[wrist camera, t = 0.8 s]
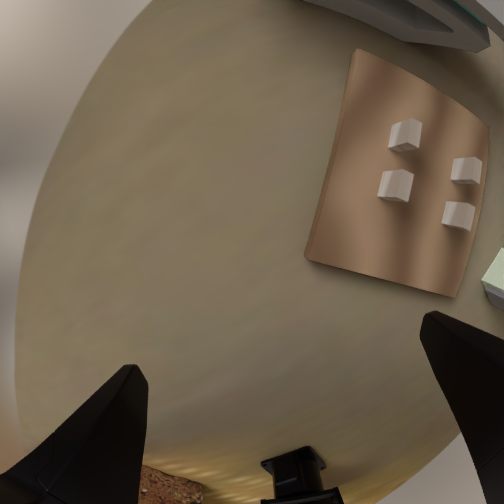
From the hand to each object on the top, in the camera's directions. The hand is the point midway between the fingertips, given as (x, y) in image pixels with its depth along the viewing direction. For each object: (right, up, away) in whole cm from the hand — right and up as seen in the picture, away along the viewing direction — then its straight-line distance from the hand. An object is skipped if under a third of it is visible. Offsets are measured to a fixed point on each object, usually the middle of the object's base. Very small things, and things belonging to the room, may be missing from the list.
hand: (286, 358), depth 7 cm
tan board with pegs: (+13, +9, +13) cm, 21 cm away
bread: (-15, -35, +22) cm, 44 cm away
